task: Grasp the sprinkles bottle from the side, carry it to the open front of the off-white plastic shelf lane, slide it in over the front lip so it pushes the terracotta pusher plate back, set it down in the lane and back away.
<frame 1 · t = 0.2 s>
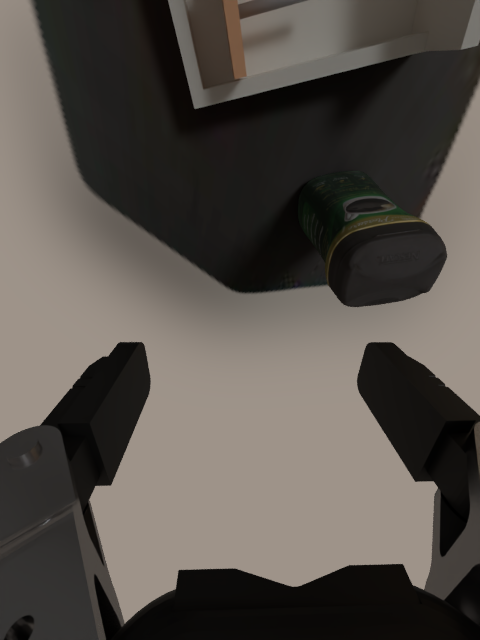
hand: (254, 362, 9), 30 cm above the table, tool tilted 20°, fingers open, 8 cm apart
pusher: (274, 1, 20), point 4 cm above the table, slide at 0.0 cm
coffee jar: (331, 201, 36), on the table
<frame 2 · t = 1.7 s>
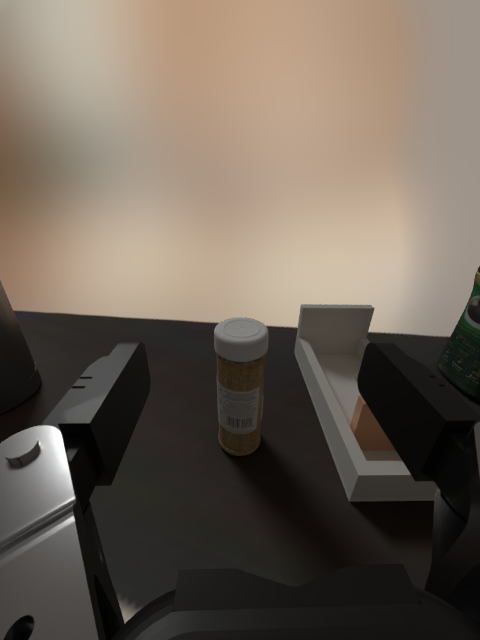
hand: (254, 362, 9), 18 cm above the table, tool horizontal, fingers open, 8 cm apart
pusher: (374, 397, 28), point 4 cm above the table, slide at 0.0 cm
coffee jar: (474, 384, 36), on the table
sprinkles bottle: (239, 439, 28), on the table
lane: (354, 404, 32), on the table
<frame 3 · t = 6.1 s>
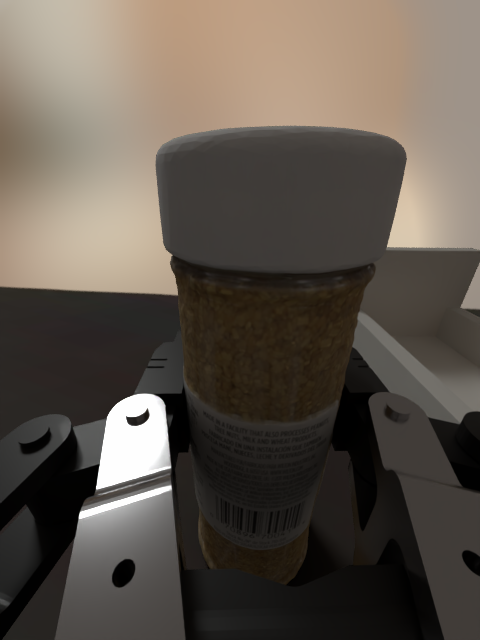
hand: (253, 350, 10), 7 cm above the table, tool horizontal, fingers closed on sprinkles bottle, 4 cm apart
sprinkles bottle: (251, 528, 11), on the table, touching gripper
when the fingers open (9 cm above the table, at t = 13.3 s): sprinkles bottle moves 1 cm, resting on lane.
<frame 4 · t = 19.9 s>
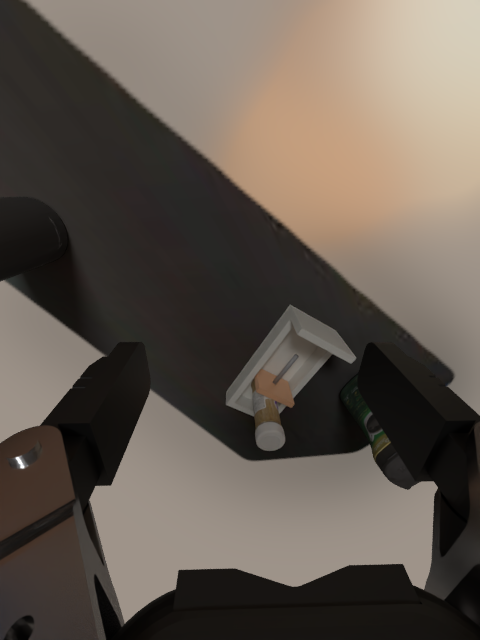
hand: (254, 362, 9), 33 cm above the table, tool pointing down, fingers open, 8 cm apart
pusher: (284, 373, 46), point 4 cm above the table, slide at 3.8 cm
coffee jar: (362, 385, 53), on the table
sprinkles bottle: (261, 383, 52), resting on lane
lane: (278, 363, 50), on the table
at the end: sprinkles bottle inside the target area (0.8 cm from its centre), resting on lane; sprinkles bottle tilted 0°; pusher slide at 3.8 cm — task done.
